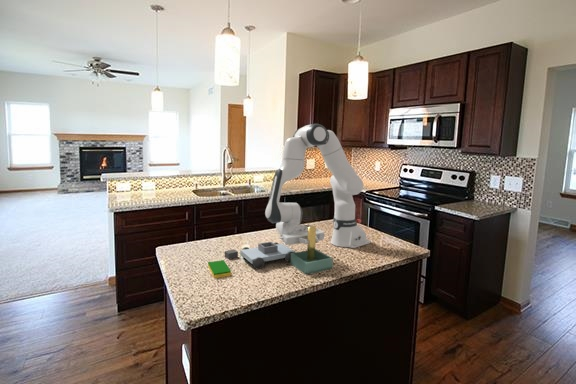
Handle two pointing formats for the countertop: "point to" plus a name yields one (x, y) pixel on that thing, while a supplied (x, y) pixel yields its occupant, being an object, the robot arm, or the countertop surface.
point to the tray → (311, 262)
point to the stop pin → (311, 243)
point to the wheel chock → (231, 254)
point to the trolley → (266, 253)
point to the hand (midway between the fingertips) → (312, 241)
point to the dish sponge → (219, 269)
